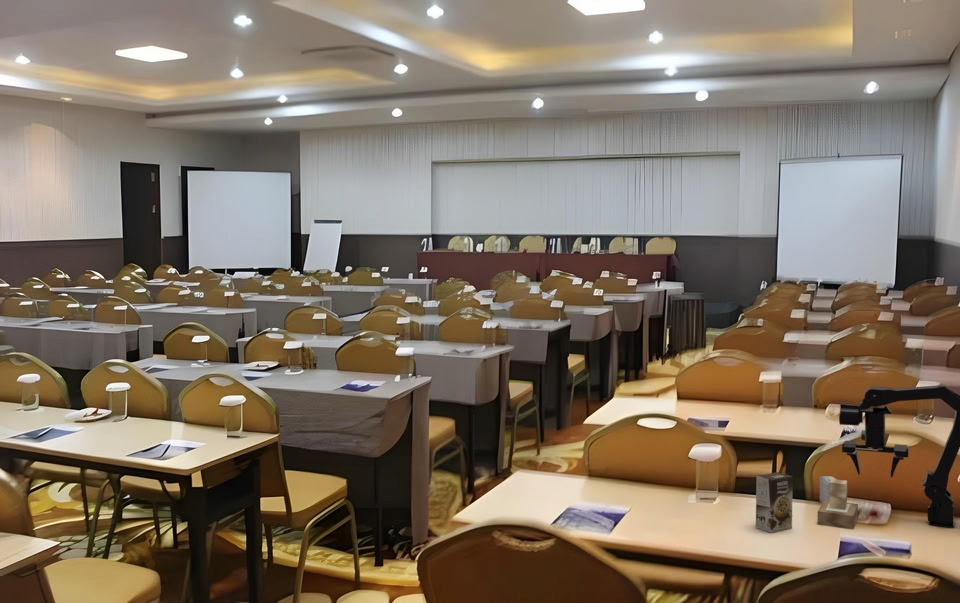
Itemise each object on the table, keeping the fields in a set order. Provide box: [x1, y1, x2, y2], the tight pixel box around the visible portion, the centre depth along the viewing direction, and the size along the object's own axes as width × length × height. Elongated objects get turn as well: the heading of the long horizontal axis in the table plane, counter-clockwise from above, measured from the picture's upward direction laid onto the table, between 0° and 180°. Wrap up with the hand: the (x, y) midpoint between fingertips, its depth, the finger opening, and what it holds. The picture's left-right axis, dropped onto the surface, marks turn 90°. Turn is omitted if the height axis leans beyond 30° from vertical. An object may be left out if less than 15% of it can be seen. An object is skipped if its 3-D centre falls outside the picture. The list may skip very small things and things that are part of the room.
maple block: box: [829, 478, 848, 510], centre depth 254 cm, size 4×4×8 cm
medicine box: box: [819, 475, 838, 504], centre depth 270 cm, size 8×4×9 cm, turn 179°
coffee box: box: [755, 471, 794, 534], centre depth 247 cm, size 9×6×16 cm
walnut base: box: [817, 500, 859, 530], centre depth 254 cm, size 10×14×4 cm
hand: (875, 475), depth 258 cm, fingers open, 9 cm apart
